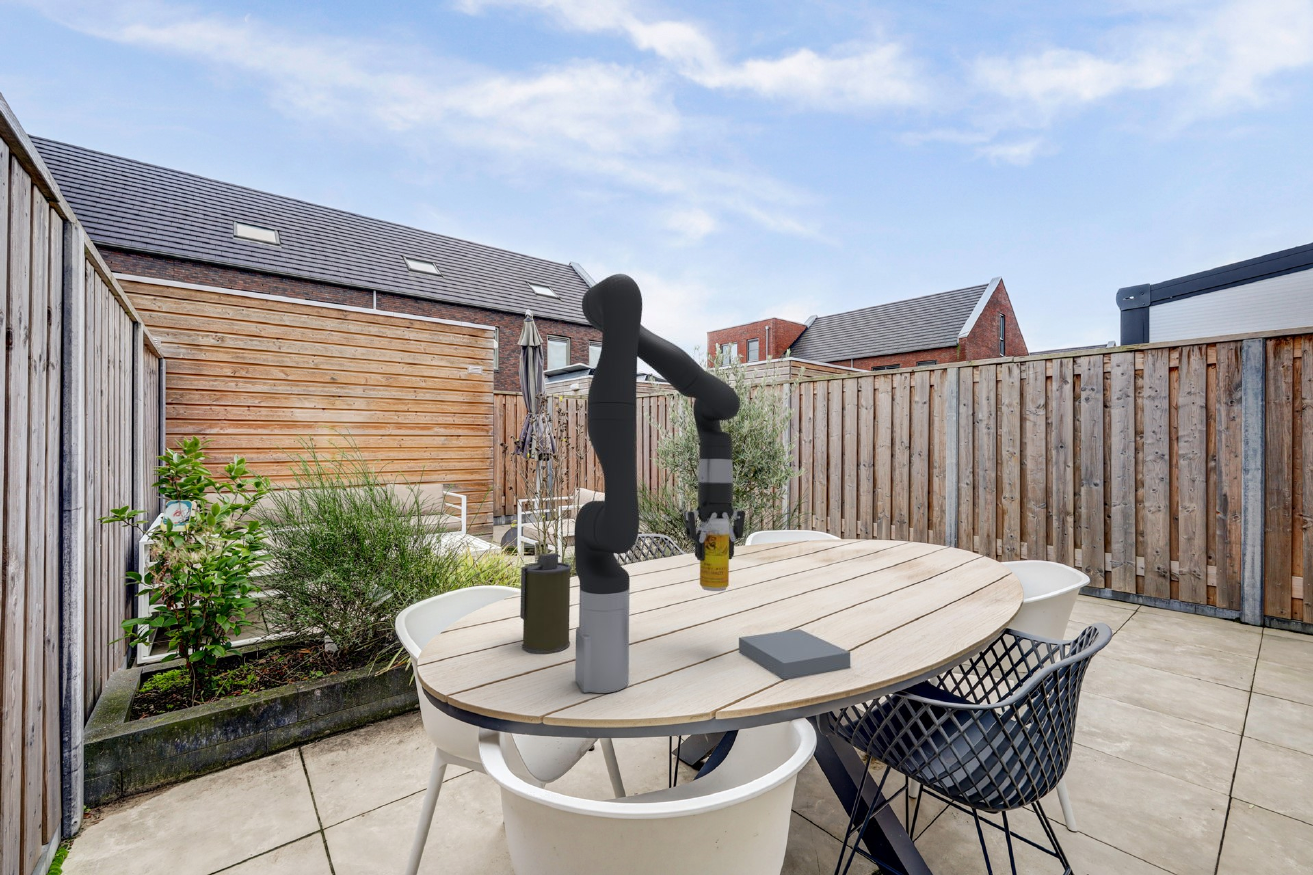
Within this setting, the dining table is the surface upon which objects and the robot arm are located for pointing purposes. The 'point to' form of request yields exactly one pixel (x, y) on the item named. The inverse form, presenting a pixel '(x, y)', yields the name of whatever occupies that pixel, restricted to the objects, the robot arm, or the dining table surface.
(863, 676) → the dining table surface
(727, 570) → the beer can
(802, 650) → the stand
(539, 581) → the canister
